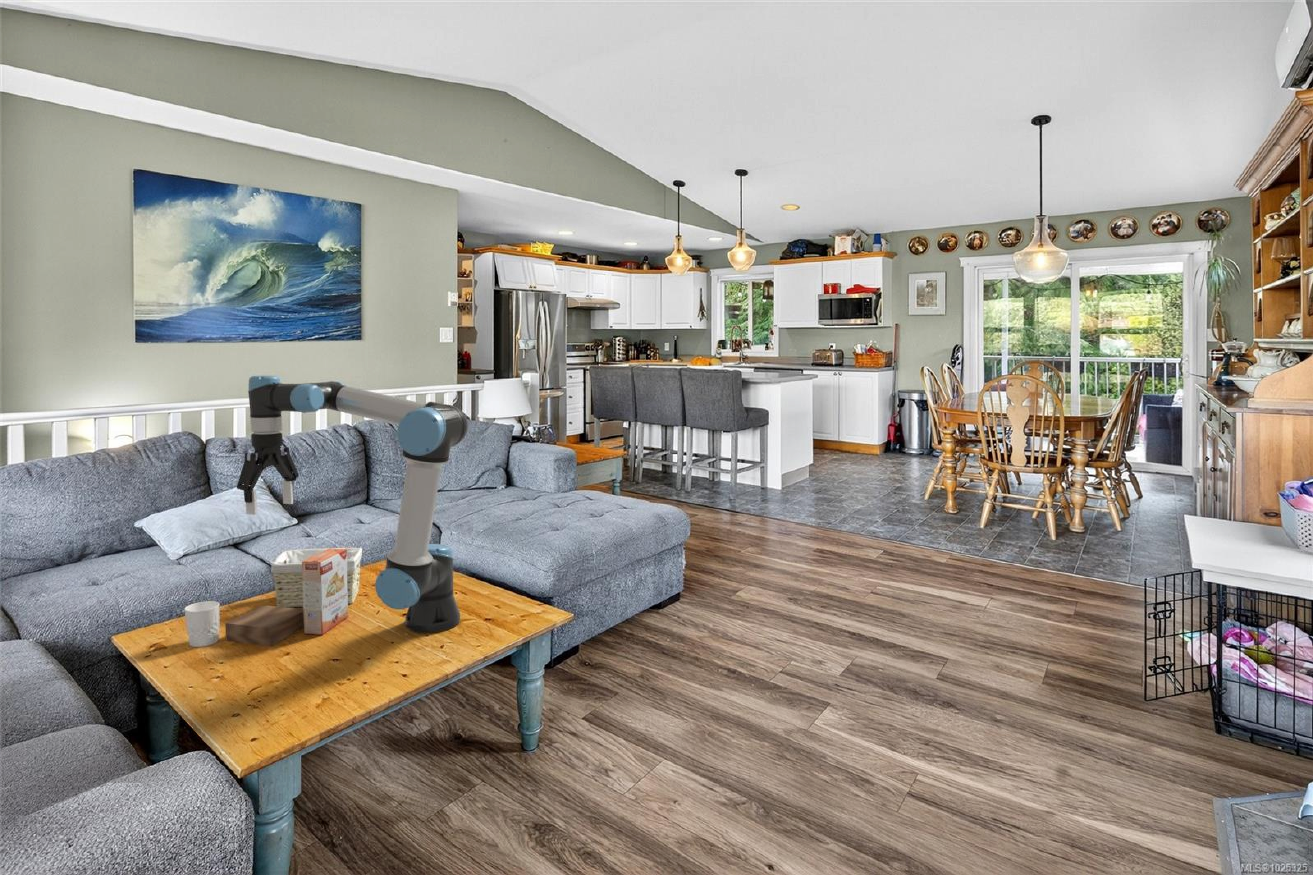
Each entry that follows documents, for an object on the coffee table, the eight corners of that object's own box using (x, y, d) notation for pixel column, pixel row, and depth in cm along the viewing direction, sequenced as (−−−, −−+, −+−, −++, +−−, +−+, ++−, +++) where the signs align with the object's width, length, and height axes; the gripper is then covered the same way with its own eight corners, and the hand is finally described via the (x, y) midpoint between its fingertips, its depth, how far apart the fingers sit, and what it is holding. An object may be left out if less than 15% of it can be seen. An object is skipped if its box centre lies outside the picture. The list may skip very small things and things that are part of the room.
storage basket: (364, 589, 235) (363, 545, 233) (357, 606, 220) (355, 559, 218) (285, 594, 229) (283, 549, 228) (271, 612, 214) (268, 564, 212)
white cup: (185, 650, 186) (182, 613, 185) (188, 639, 193) (186, 603, 192) (220, 645, 189) (218, 608, 188) (222, 634, 196) (220, 599, 195)
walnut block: (307, 626, 203) (306, 609, 202) (271, 646, 189) (270, 628, 189) (264, 622, 206) (263, 605, 205) (226, 641, 192) (225, 623, 191)
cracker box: (324, 635, 196) (320, 562, 194) (303, 634, 197) (299, 561, 194) (350, 617, 210) (347, 548, 208) (330, 616, 211) (327, 547, 208)
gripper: (287, 427, 207) (290, 499, 210) (218, 437, 183) (222, 517, 186) (310, 428, 206) (313, 500, 208) (243, 438, 182) (247, 519, 184)
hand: (270, 508), depth 197 cm, fingers open, 13 cm apart
